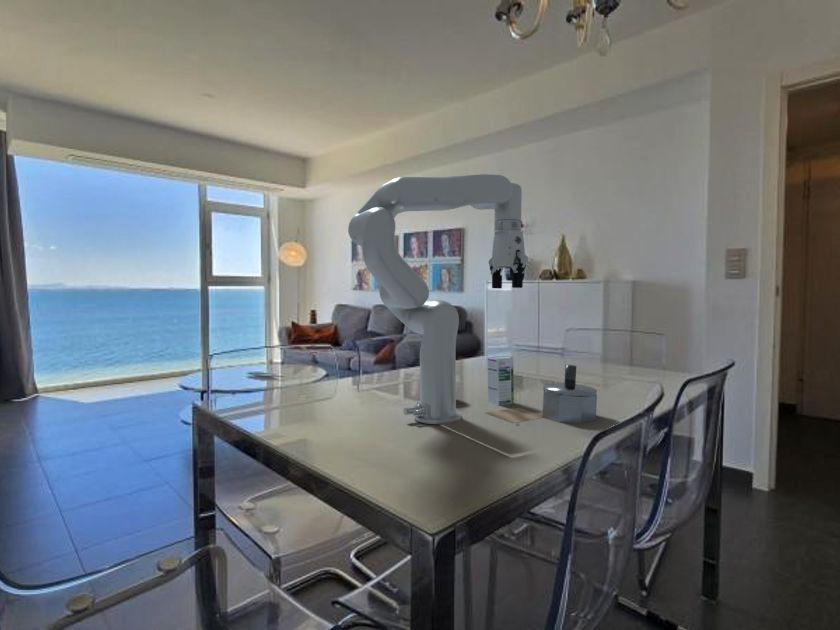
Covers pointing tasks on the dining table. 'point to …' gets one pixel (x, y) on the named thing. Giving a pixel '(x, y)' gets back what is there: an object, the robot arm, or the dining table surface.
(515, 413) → the wooden board
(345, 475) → the dining table surface
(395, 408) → the dining table surface
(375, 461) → the dining table surface
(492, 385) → the syrup box
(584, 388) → the grey round part
